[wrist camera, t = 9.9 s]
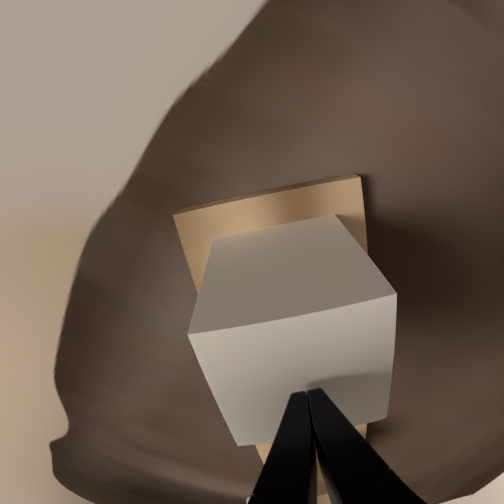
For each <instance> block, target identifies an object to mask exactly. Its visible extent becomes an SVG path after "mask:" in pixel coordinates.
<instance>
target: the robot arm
mask: <svg viewBox="0 0 504 504" xmlns="http://www.w3.org/2000/svg"><path fill="white" fill-rule="evenodd" d="M306 393H307V394H306ZM315 448H316V449H315ZM316 454H317V457H316ZM317 459H318V463H319V466H320V470H321V473H322V476H323V479H324V482H325V486H326V489H327V492H328V495H329V498H330V502H331V504H427V503H426V502H424V501H423V500H422V499H421V498H420V497H419V496H417V495H416V494H415V493H414V492H413V491H412V490H411V489H410V488H409V487H408V486H407V485H406V484H405V483H404V482H403V481H402V480H401V479H400V478H399V477H398V476H397V475H396V474H395V473H394V471H393V470H392V469H389V466H388V465H387V464H386V463H385V461H384V460H383V459H382V458H381V457H380V456H379V455H378V454H377V452H376V451H375V450H374V449H373V448H372V447H371V446H370V444H369V443H368V442H367V441H366V440H365V439H364V437H363V436H362V435H361V434H360V433H359V432H358V430H357V429H356V428H355V427H354V426H353V425H352V424H351V422H350V421H349V420H348V419H347V418H346V416H345V415H344V414H343V413H342V412H341V411H340V409H339V408H338V407H337V406H336V405H335V404H334V402H333V401H332V400H331V399H330V398H329V396H328V395H327V394H326V393H325V392H324V390H323V389H322V388H315V389H310V390H307V392H305V391H299V392H294V393H291V395H290V397H289V400H288V403H287V405H286V408H285V411H284V414H283V416H282V419H281V422H280V425H279V427H278V430H277V433H276V435H275V438H274V441H273V443H272V446H271V448H270V451H269V453H268V456H267V459H266V461H265V463H264V466H263V468H262V471H261V473H260V476H259V478H258V481H257V483H256V485H255V488H254V490H253V492H252V494H253V495H251V497H250V499H249V501H248V503H247V504H317Z"/></svg>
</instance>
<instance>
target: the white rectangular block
mask: <svg viewBox="0 0 504 504" xmlns="http://www.w3.org/2000/svg"><path fill="white" fill-rule="evenodd" d="M396 309H397V293H396V292H395V290H394V289H393V288H392V286H391V285H390V284H389V282H388V281H387V280H386V278H385V277H384V276H383V274H382V273H381V272H380V270H379V269H378V268H377V266H376V265H375V264H374V263H373V261H372V260H371V259H370V257H369V256H368V255H367V254H366V252H365V251H364V250H363V249H362V247H361V246H360V245H359V244H358V242H357V241H356V240H355V239H354V237H353V236H352V235H351V234H350V232H349V231H348V230H347V229H346V228H345V226H344V225H343V224H342V223H341V222H340V220H339V219H338V218H337V217H336V216H335V214H333V215H328V216H322V217H317V218H312V219H307V220H302V221H297V222H292V223H287V224H281V225H276V226H271V227H266V228H261V229H257V230H252V231H247V232H242V233H237V234H232V235H227V236H222V237H218V238H214V240H213V243H212V247H211V250H210V254H209V257H208V261H207V264H206V268H205V271H204V275H203V279H202V282H201V286H200V289H199V293H198V297H197V301H196V304H195V308H194V312H193V315H192V319H191V323H190V327H189V331H188V337H189V340H190V342H191V344H192V347H193V349H194V352H195V354H196V356H197V359H198V361H199V364H200V366H201V368H202V371H203V373H204V375H205V377H206V380H207V382H208V384H209V386H210V389H211V391H212V393H213V395H214V398H215V400H216V402H217V404H218V406H219V408H220V410H221V413H222V415H223V417H224V419H225V421H226V423H227V425H228V427H229V429H230V431H231V433H232V435H233V437H234V439H235V441H236V443H237V445H238V446H244V445H254V444H262V443H270V442H273V441H274V438H275V435H276V433H277V430H278V427H279V425H280V422H281V419H282V416H283V414H284V411H285V408H286V405H287V403H288V400H289V397H290V395H291V393H294V392H299V391H305V392H307V390H310V389H315V388H322V389H323V390H324V392H325V393H326V394H327V395H328V396H329V398H330V399H331V400H332V401H333V402H334V404H335V405H336V406H337V407H338V408H339V409H340V411H341V412H342V413H343V414H344V415H345V416H346V418H347V419H348V420H349V421H350V422H351V424H352V425H353V426H354V427H355V426H359V425H363V424H366V423H370V422H374V421H377V420H381V419H384V418H386V417H387V410H388V403H389V395H390V387H391V378H392V369H393V358H394V345H395V330H396ZM306 394H307V393H306Z"/></svg>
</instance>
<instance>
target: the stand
mask: <svg viewBox="0 0 504 504" xmlns="http://www.w3.org/2000/svg"><path fill="white" fill-rule="evenodd" d="M333 214H335V216H336V217H337V218H338V219H339V220H340V222H341V223H342V224H343V225H344V226H345V228H346V229H347V230H348V231H349V232H350V234H351V235H352V236H353V237H354V239H355V240H356V241H357V242H358V244H359V245H360V246H361V247H362V249H363V250H364V251H365V252H366V254H367V255H368V248H367V235H366V223H365V213H364V203H363V194H362V185H361V177H359V176H358V175H356V174H351V175H345V176H339V177H333V178H327V179H322V180H316V181H311V182H305V183H300V184H295V185H289V186H284V187H279V188H274V189H269V190H264V191H259V192H254V193H250V194H245V195H240V196H236V197H231V198H226V199H222V200H217V201H213V202H209V203H204V204H200V205H196V206H191V207H187V208H183V209H179V210H177V211H176V212H175V213H174V215H173V217H174V220H175V224H176V227H177V230H178V233H179V237H180V240H181V243H182V246H183V250H184V253H185V256H186V259H187V262H188V265H189V268H190V272H191V275H192V278H193V281H194V284H195V287H196V290H197V293H199V289H200V286H201V282H202V279H203V275H204V271H205V268H206V264H207V261H208V257H209V254H210V250H211V247H212V243H213V240H214V238H218V237H222V236H227V235H232V234H237V233H242V232H247V231H252V230H257V229H261V228H266V227H271V226H276V225H281V224H287V223H292V222H297V221H302V220H307V219H312V218H317V217H322V216H328V215H333ZM355 428H356V429H357V430H358V432H359V433H360V434H361V435H362V436H363V437H364V439H365V440H366V428H367V423H366V424H363V425H359V426H355ZM272 443H273V442H270V443H262V444H255V445H256V448H257V450H258V452H259V454H260V457H261V459H262V461H263V464H264V463H265V461H266V459H267V456H268V453H269V451H270V448H271V446H272ZM315 449H316V448H315ZM316 457H317V454H316ZM317 504H331V502H330V498H329V495H328V492H327V489H326V486H325V482H324V479H323V476H322V473H321V470H320V466H319V463H318V459H317Z"/></svg>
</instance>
